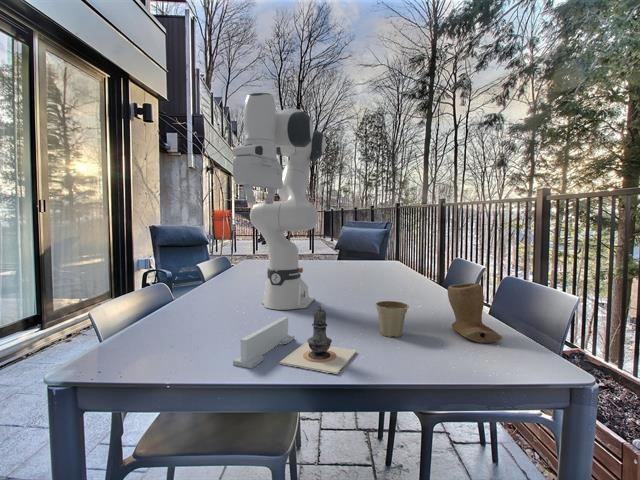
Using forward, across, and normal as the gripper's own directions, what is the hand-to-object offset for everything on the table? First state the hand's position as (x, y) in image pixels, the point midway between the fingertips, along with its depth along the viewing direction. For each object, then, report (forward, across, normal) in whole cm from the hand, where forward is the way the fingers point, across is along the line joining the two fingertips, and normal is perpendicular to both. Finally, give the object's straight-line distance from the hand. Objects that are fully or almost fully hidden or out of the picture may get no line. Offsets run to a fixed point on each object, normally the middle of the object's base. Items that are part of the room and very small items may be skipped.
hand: (260, 203), depth 101 cm
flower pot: (+37, -16, +34) cm, 53 cm away
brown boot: (+37, -24, +55) cm, 71 cm away
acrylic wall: (+37, +10, +8) cm, 39 cm away
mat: (+37, +9, +22) cm, 44 cm away
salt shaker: (+37, +9, +22) cm, 43 cm away
